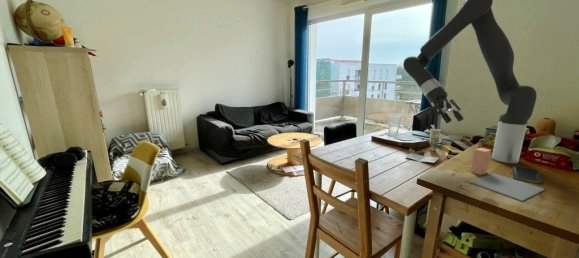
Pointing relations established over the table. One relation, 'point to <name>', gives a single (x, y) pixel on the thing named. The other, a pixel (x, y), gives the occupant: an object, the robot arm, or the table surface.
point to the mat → (507, 186)
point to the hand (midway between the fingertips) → (455, 121)
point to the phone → (526, 174)
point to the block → (480, 161)
